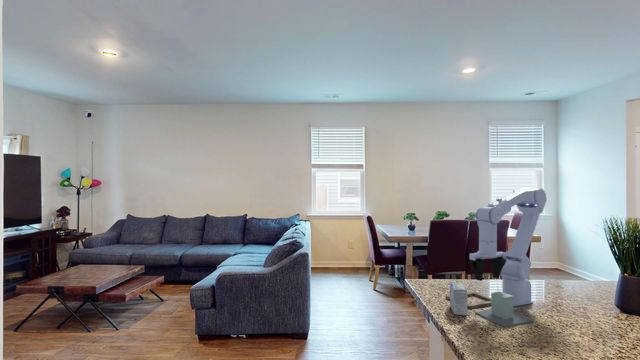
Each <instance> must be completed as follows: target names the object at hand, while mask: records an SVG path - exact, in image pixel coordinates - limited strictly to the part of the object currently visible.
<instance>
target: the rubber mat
mask: <svg viewBox="0 0 640 360" xmlns="http://www.w3.org/2000/svg"><path fill="white" fill-rule="evenodd" d="M474 313H475V315H477V316H479V317H482V318H483V319H487V320H488V321H491V322H492V323H494V324H497V325H498V326H500V327H503V328H510V327H515V326H520V325H524V324H530V323H534V320H533V319H532V318H528V317H526V316H524V315H521V314H520V313H517V312H514V311H513V318H509V319H502V318H500V317H498V316H495V315H493V314H492V308H491V309H486V310H480V311H475V312H474Z"/></svg>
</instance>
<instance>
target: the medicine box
mask: <svg viewBox="0 0 640 360" xmlns="http://www.w3.org/2000/svg"><path fill="white" fill-rule="evenodd" d="M467 293H468V290H467V288H466V287H465V285H464V284H463V283H462V282H461V283H460V282H450V283H449V295H450V300H449V304H450V306H449V307H450V308H451V311H452V312H453V314H454V315H457V316H458V315H460V316H468V314H469V313H468V311H469V309H468V308H467V304H468V297H467Z"/></svg>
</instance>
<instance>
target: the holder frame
mask: <svg viewBox="0 0 640 360" xmlns="http://www.w3.org/2000/svg"><path fill="white" fill-rule="evenodd" d="M468 297H477V298H479V299H481V298H482V299H481V300H484V301H480V302H475V303H470V304H469V303H467V310H471V309H478V308H483V307H484V306H485V307H492V298H491V297H489V296H486V295H484V294H481V293H480V292H479V293H478V292H477V291H469V292H468V291H467V298H468ZM445 299H447V300H448V301H450V294H448V295H445Z"/></svg>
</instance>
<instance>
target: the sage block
mask: <svg viewBox="0 0 640 360" xmlns="http://www.w3.org/2000/svg"><path fill="white" fill-rule="evenodd" d="M490 294H491V297H490V298H492V305H491V309H492V314H493V315H495V316H498V317H500V318H502V319H509V318H513V312H514V306H513V296H512V295H509V294H506V293H503V291H495V292H491V293H490Z"/></svg>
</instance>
